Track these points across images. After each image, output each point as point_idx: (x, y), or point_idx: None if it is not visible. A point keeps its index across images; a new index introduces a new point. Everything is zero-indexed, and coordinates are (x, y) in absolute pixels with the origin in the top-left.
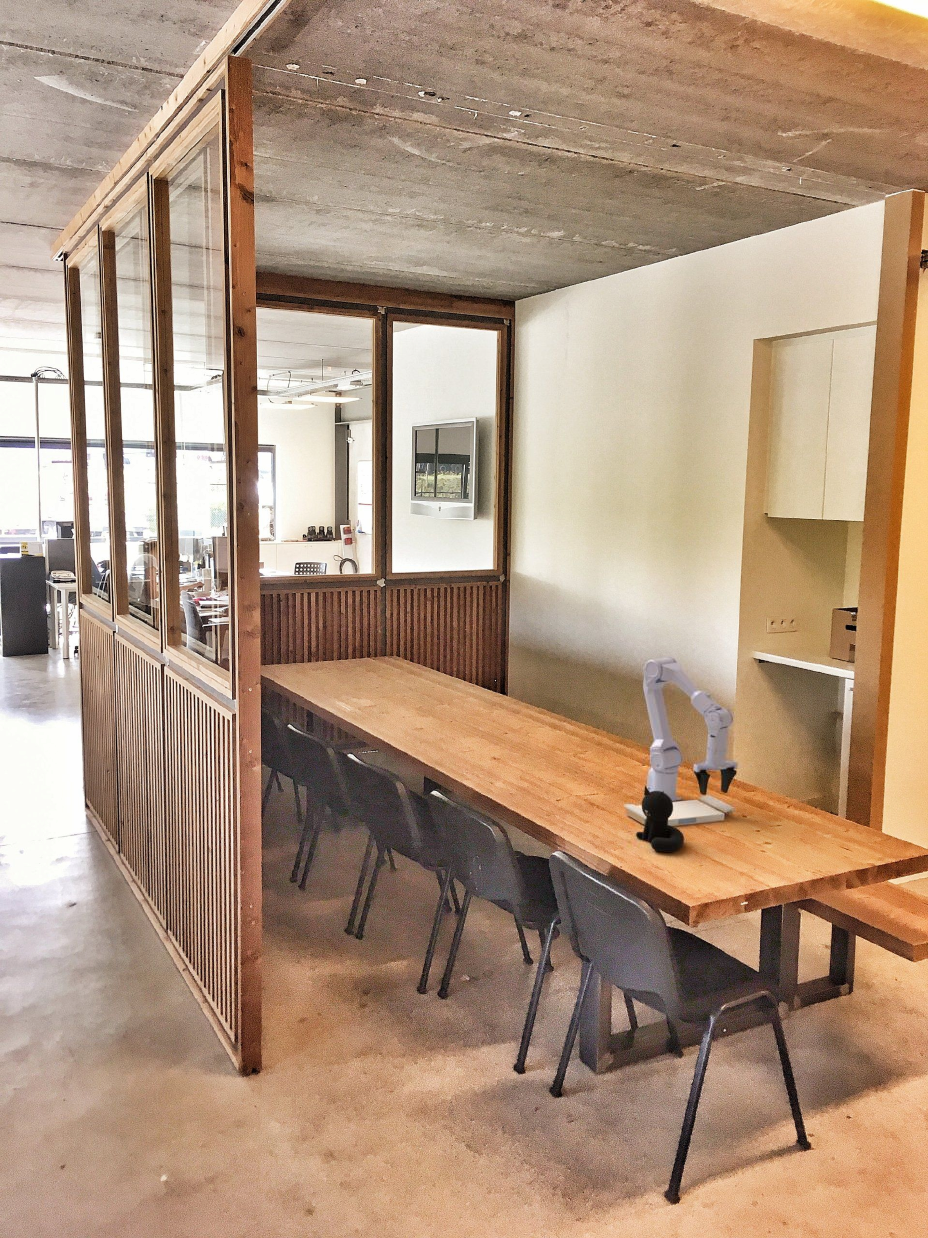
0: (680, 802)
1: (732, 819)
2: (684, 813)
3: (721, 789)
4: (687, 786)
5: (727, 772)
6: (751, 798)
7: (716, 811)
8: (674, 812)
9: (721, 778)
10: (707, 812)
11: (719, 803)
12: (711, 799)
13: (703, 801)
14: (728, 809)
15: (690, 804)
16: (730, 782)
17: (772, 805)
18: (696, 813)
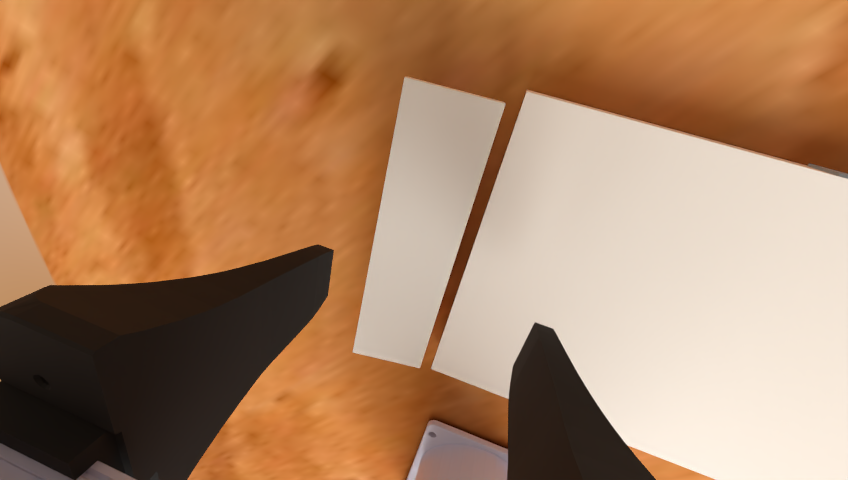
0: None
1: (450, 73)
2: (808, 287)
3: (319, 303)
4: (278, 458)
5: (152, 397)
6: (125, 247)
7: (530, 169)
8: (845, 344)
9: (251, 384)
10: (616, 195)
11: (411, 231)
12: (392, 307)
13: (430, 330)
14: (467, 99)
15: None
16: (230, 273)
17: (77, 123)
18: (722, 231)
